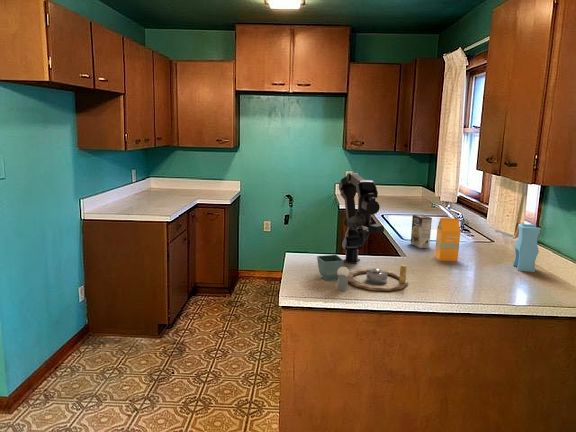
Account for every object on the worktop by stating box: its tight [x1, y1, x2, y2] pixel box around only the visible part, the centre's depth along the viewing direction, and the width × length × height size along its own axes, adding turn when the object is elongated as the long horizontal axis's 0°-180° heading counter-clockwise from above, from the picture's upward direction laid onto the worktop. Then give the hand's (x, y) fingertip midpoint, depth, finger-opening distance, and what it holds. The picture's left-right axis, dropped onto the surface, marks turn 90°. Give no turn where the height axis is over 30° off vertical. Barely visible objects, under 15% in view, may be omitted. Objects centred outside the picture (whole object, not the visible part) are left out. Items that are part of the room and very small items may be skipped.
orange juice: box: [434, 217, 461, 262], centre depth 226 cm, size 8×9×20 cm
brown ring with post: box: [348, 264, 409, 292], centre depth 192 cm, size 24×24×8 cm
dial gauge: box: [337, 266, 350, 292], centre depth 182 cm, size 3×4×9 cm
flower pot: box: [316, 254, 345, 282], centre depth 194 cm, size 9×9×9 cm
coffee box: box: [410, 214, 433, 249], centre depth 250 cm, size 9×6×16 cm
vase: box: [512, 223, 542, 273], centre depth 212 cm, size 8×8×20 cm
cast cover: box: [365, 267, 388, 286], centre depth 193 cm, size 8×8×5 cm
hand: (362, 244), depth 205 cm, fingers closed
